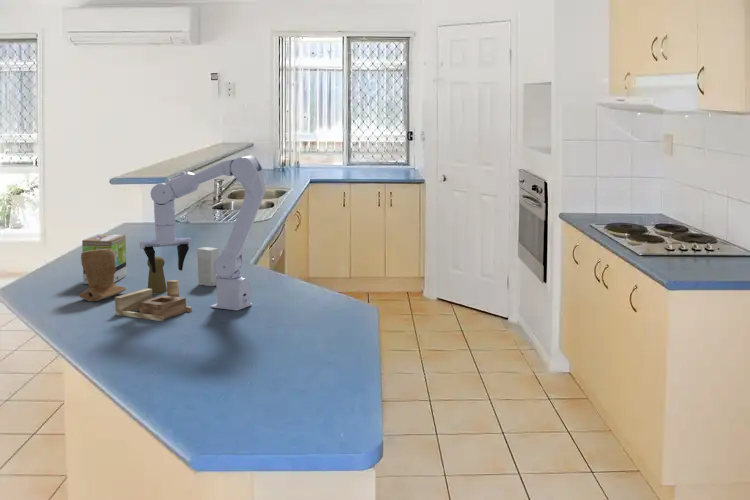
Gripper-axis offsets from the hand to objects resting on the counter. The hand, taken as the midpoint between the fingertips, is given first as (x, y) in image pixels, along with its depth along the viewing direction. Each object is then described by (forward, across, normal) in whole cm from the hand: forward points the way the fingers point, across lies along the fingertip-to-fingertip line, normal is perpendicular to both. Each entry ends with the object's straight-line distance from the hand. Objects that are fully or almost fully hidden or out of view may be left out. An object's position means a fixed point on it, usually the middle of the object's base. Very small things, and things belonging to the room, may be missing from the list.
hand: (167, 271), depth 241 cm
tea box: (+10, +12, -45) cm, 47 cm away
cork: (+10, 0, -20) cm, 22 cm away
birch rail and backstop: (+10, +6, +8) cm, 14 cm away
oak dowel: (+10, -1, 0) cm, 10 cm away
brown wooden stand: (+10, +17, -19) cm, 27 cm away
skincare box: (+10, -18, -23) cm, 31 cm away
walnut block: (+10, +4, +10) cm, 15 cm away
